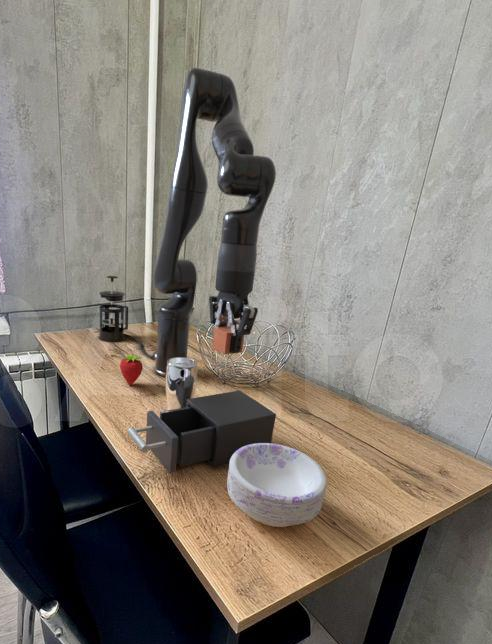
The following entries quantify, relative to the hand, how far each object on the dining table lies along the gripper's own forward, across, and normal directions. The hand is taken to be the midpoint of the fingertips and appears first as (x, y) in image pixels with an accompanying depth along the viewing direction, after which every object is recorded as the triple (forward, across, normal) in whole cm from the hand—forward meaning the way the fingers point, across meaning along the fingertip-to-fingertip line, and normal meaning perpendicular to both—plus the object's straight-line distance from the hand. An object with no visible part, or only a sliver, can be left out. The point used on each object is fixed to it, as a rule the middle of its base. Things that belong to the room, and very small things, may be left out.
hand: (227, 348), depth 85 cm
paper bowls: (+19, -26, +8) cm, 34 cm away
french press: (+18, +71, -1) cm, 74 cm away
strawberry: (+19, +28, +10) cm, 35 cm away
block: (0, 0, 0) cm, 0 cm away
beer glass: (+19, +4, +8) cm, 21 cm away
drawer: (+18, -7, +16) cm, 25 cm away
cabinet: (+19, -8, +3) cm, 20 cm away
